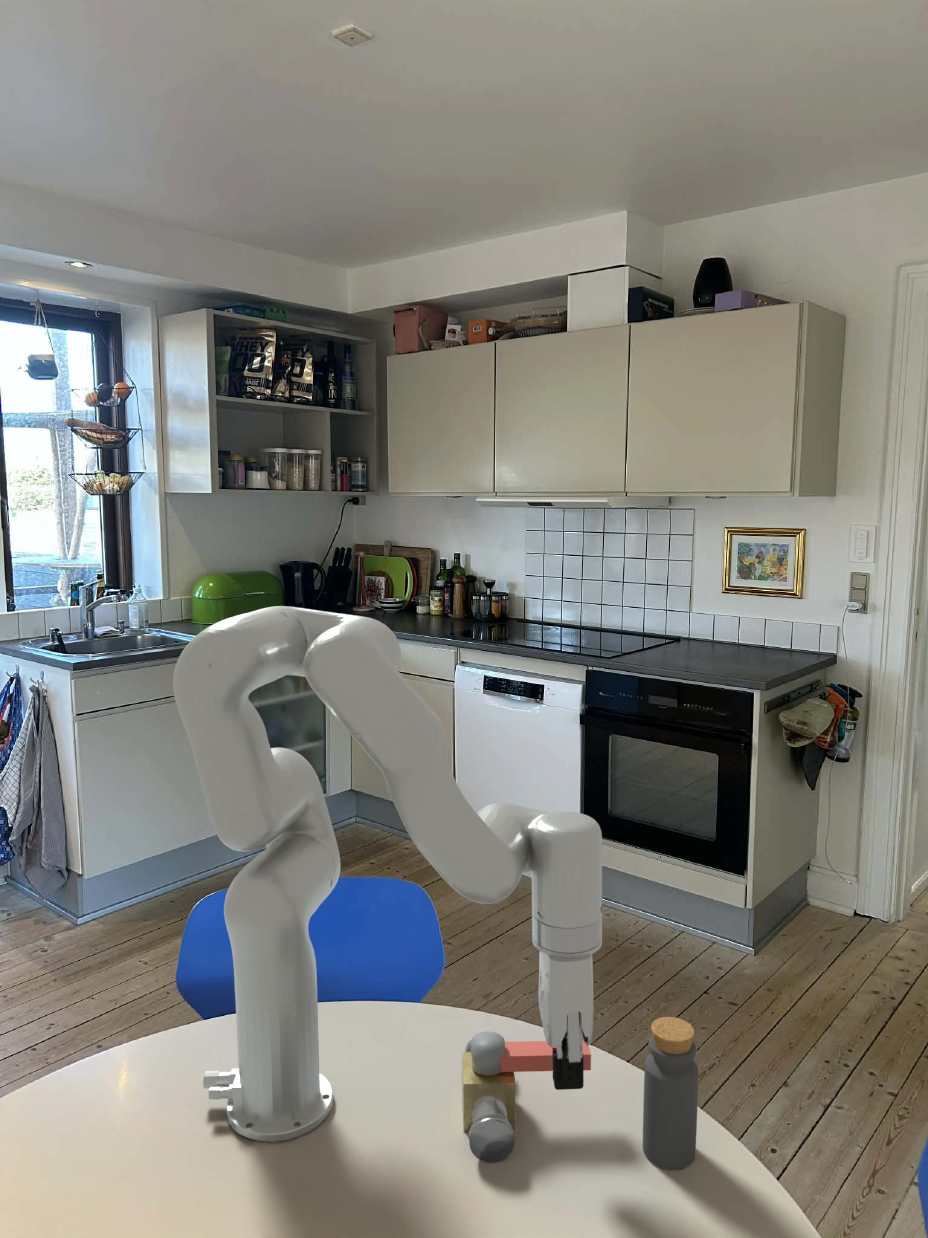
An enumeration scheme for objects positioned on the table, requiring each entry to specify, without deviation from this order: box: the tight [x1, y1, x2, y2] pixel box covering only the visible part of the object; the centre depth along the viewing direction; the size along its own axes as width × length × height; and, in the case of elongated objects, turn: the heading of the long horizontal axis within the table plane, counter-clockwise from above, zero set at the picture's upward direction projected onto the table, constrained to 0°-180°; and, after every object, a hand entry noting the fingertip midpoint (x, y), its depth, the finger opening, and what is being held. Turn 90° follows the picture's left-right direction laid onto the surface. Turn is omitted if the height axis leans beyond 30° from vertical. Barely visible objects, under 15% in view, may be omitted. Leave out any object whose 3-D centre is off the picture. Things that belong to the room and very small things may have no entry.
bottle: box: [642, 1016, 699, 1171], centre depth 102 cm, size 6×6×15 cm
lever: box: [470, 1031, 592, 1076], centre depth 108 cm, size 14×4×3 cm, turn 92°
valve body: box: [461, 1039, 516, 1164], centre depth 109 cm, size 6×16×6 cm, turn 2°
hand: (568, 1084), depth 101 cm, fingers closed
